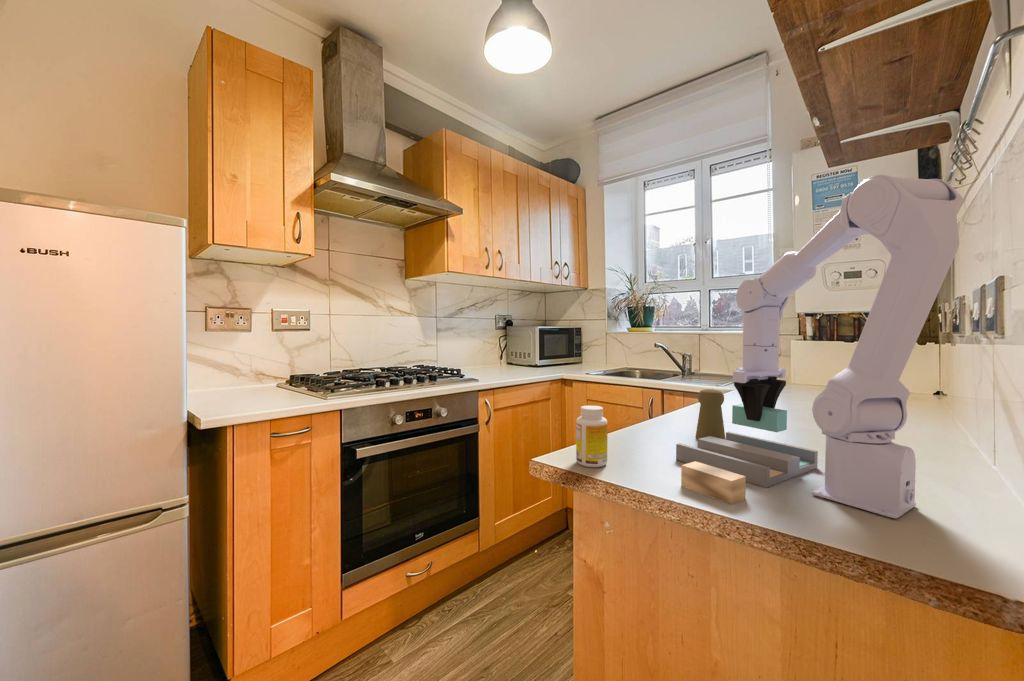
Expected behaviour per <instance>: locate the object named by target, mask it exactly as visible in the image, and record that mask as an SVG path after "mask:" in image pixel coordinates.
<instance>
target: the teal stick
mask: <svg viewBox="0 0 1024 681" xmlns="http://www.w3.org/2000/svg"><path fill="white" fill-rule="evenodd" d="M731 405H732V408H731V409H732V410H731V411H732V412H731V415H732V416H731V421H732V422H731V424H734V425H738V426H744V427H747V428H752V429H753V428H754V429H759V430H763V431H768V432H774V433H781V432H784V431H787V430H788V428H787V426H788V410H786V409H780V408H776V407H775V408H768V407H763V409H762V415H761V419H760V421H753V420H747V418H746V414H745V410H744V406H743V403H738V404H731Z"/></svg>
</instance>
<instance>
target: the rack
mask: <svg viewBox="0 0 1024 681" xmlns="http://www.w3.org/2000/svg"><path fill="white" fill-rule="evenodd" d="M725 439H726V440H725ZM725 439H720V438H716V437H712V436H708V437H704V438H700V439H698V440H697V446H696V447H695V446H691V445H687V444H684V443H680V442H678V443H676V445H675V446H676V447H675V451H676V452H675V454H676V455H675V461H678V460H679V461H678V462H681V461H682V462H681V463H684V462H686V463H685V464H687V463H691V462H695V461H696V462H700V463H703V464H706V465H710V466H713V467H716V468H720V469H723V470H726V471H730V472H733V473H736V474H740V475H743V476H746V481H747V482H746V483H749V482H751V483H750V484H752V483H753V485H755V484H756V486H758V485H759V486H758V487H762V488H765V487H766V488H765V489H767V488H770V487H773V486H775V485H777V484H780V483H782V482H785V481H788V480H790V479H792V478H795V477H798V476H800V475H803V474H806V473H808V472H811V471H813V470H816V469H817V468H818V459H819V458H818V456H819V455H818V450H816V449H815V450H814V449H810V448H806V447H802V446H796V445H793V444H789V443H788V444H787V443H782V442H777V441H773V440H769V439H765V438H761V437H759V438H758V437H755V436H750V435H746V434H741V433H737V432H732V431H725ZM772 485H773V486H772Z"/></svg>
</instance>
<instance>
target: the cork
mask: <svg viewBox="0 0 1024 681" xmlns="http://www.w3.org/2000/svg"><path fill="white" fill-rule="evenodd" d="M697 400H698V402H699V404H700V405H699V406H700V407H699V412H698V419H697V423H696V424H697V425H696V431H695V437H694V439H695V438H696V439H697V441H698V439H700V438H704V437H708V436H712V437H716V438H720V439H725V440H726V431H725V425H724V417H723V409H722V405H723V404H724V402H725V395H724V393H723V391H721V390H718V389H714V388H713V389H712V388H708V389H707V388H706V389H701V390H700V391H699V392H698V394H697ZM696 439H695V440H696Z"/></svg>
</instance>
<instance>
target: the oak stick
mask: <svg viewBox="0 0 1024 681" xmlns="http://www.w3.org/2000/svg"><path fill="white" fill-rule="evenodd" d="M680 470H681V474H680V476H681V479H680V480H681V482H680V483H681V485H680V486H681V487H682V486H683V487H682V488H685V487H687V488H686V489H688V488H689V489H688V490H690V489H692V490H691V491H693V490H694V492H696V491H697V492H696V493H699V492H700V493H699V494H701V493H702V495H704V494H705V495H704V496H707V495H708V496H707V497H709V496H711V498H712V497H714V498H713V499H715V498H716V500H718V499H719V500H718V501H720V500H722V501H721V502H723V501H724V502H723V503H727V504H730V505H731V506H732V505H734V504H737V503H740V502H742V501H743V499H744V500H746V491H747V489H746V485H747V484H746V483H747V482H746V476H743V475H740V474H736V473H733V472H730V471H726V470H723V469H720V468H716V467H713V466H710V465H706V464H703V463H700V462H696V461H695V462H691V463H683V464H681V469H680ZM741 500H742V501H741ZM736 502H737V503H736Z"/></svg>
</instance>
